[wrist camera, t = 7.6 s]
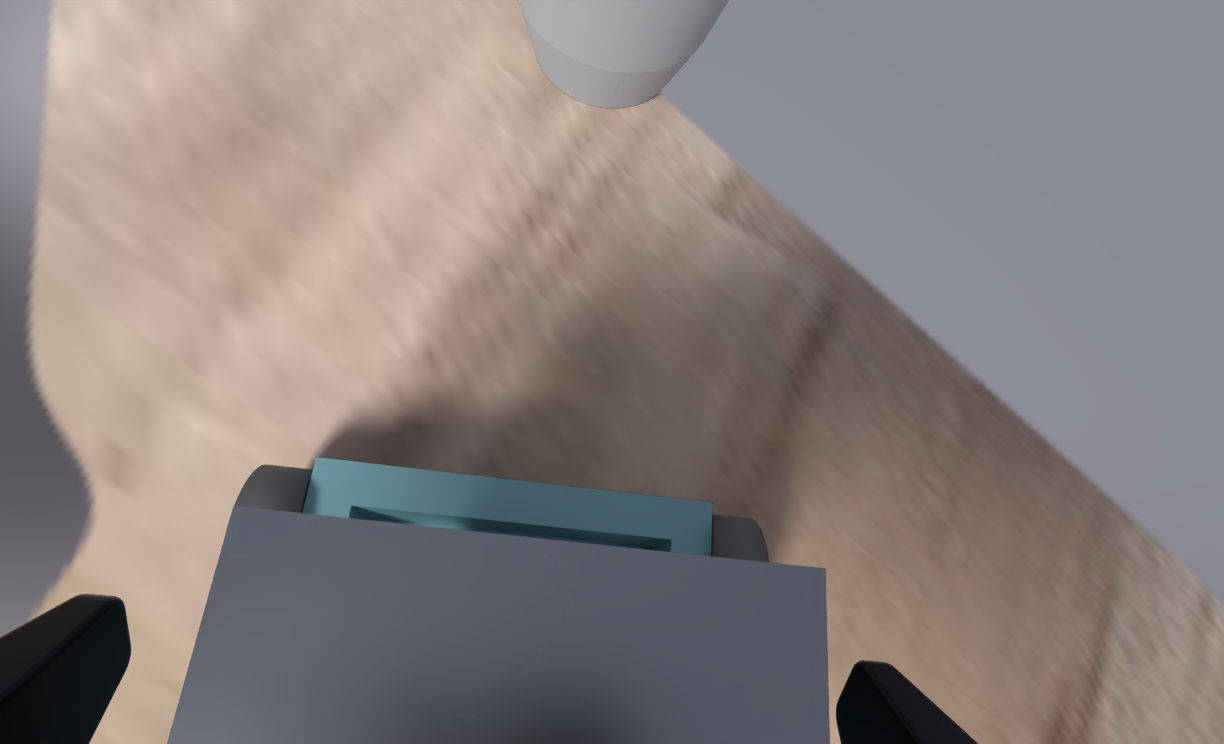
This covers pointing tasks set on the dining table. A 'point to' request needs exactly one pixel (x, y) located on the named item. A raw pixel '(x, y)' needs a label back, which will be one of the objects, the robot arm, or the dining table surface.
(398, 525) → the grey tall block
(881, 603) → the dining table surface
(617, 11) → the cup
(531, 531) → the chassis
